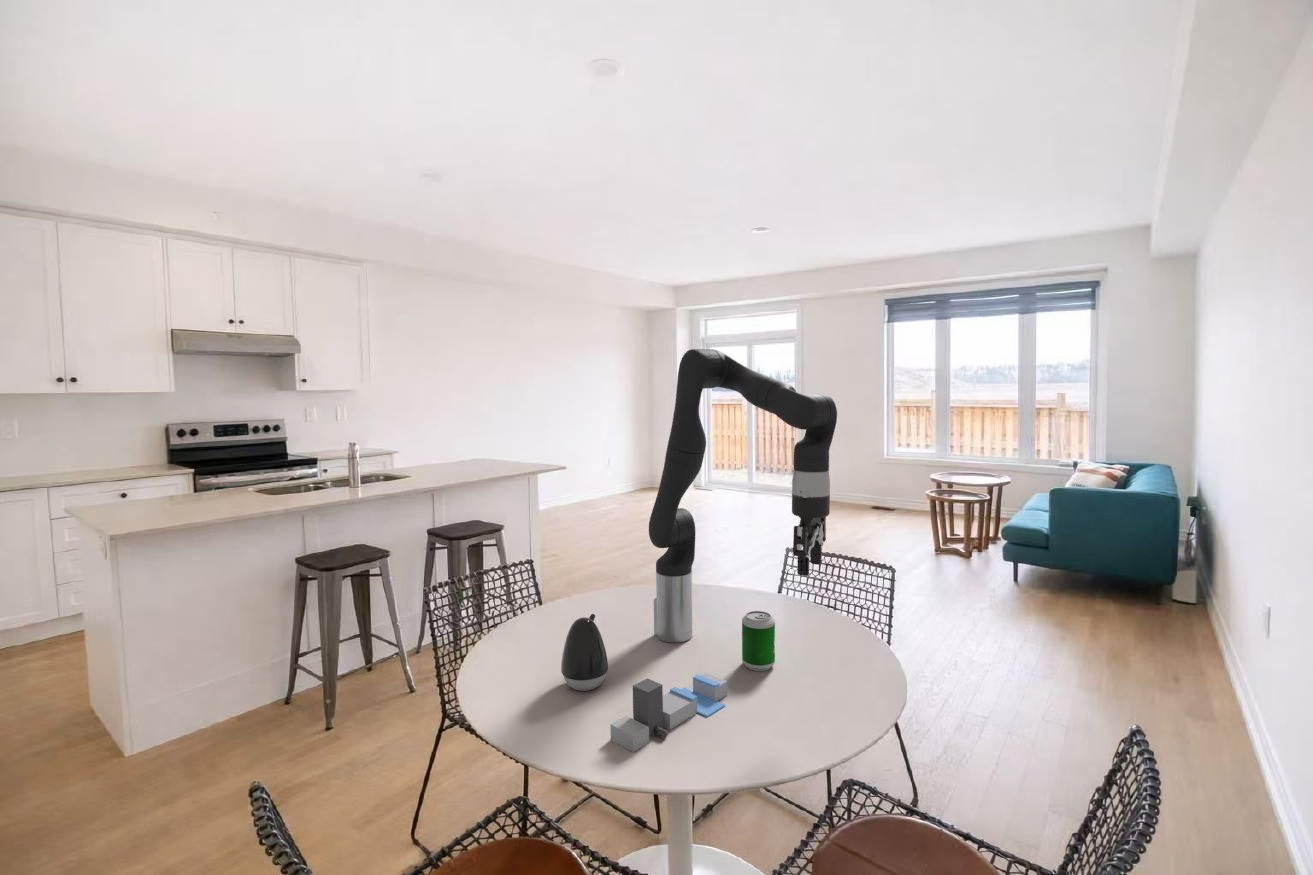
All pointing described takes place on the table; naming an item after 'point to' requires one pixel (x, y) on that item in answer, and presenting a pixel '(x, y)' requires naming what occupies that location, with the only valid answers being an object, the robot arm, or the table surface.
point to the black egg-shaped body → (584, 655)
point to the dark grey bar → (649, 706)
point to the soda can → (758, 640)
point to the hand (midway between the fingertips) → (809, 569)
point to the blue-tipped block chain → (674, 710)
